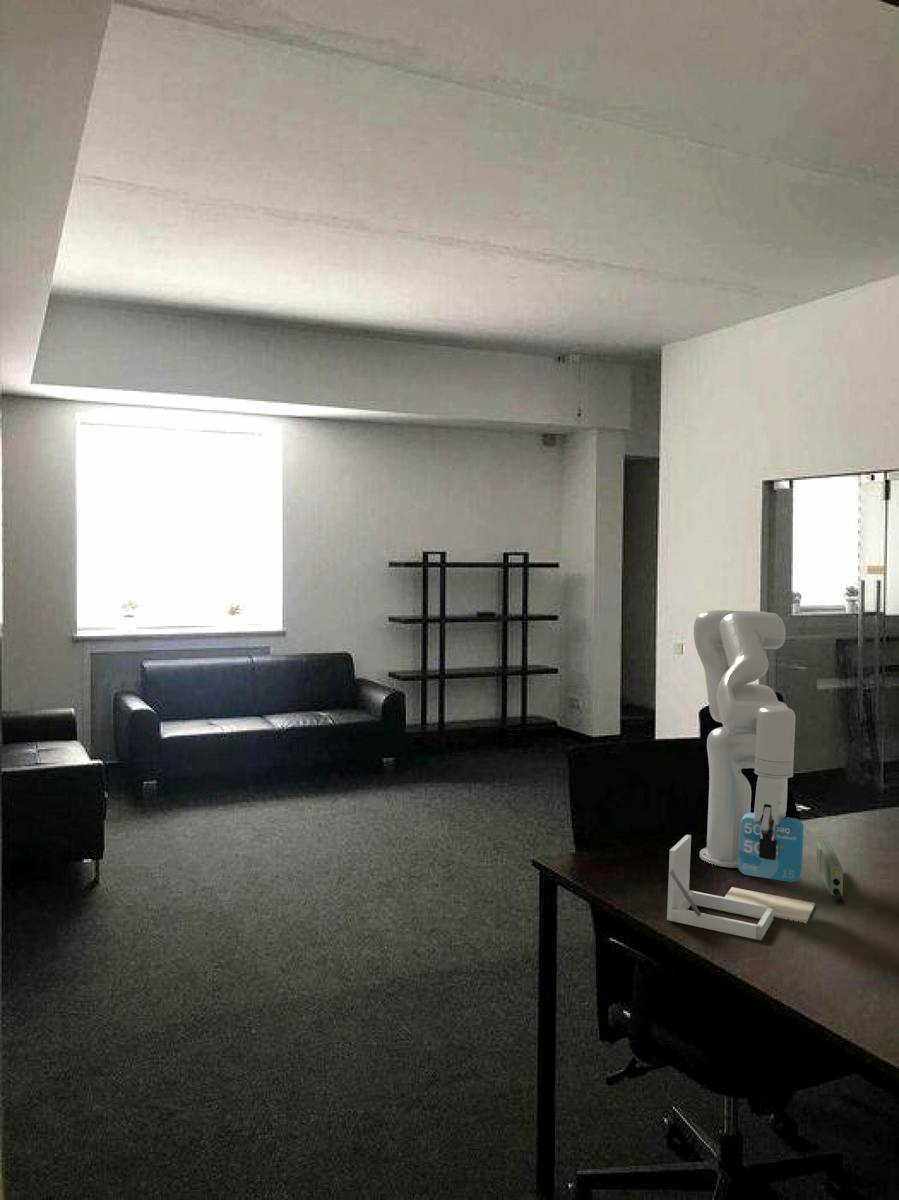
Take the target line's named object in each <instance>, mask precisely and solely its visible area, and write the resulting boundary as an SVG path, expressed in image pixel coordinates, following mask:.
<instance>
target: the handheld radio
mask: <svg viewBox="0 0 899 1200" xmlns="http://www.w3.org/2000/svg"><path fill="white" fill-rule="evenodd" d="M816 866H817V869H818V871H819V872H820V874H822V875H821V876H823V877H822V879H823V881H824V883H826V884H825V887H826V888H827V891H828V890H829V891H828V892H830V893H829V895H830V894H831V895H830V896H832V895H834V896H833V897H835V899H836V902H837V903H838V904H842V903H844V902H845V900H844V898H843V893H844V869H843V865H842V864H841V863H840V861H839V858H838V856H837V854H836V852H835V850H834V848H833V846H832V845H831V843H830V841H829V840H828V839H826V840H825V839H823V840H822V839H819V841H818V842H817V843H816Z"/></svg>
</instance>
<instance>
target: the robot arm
mask: <svg viewBox="0 0 899 1200" xmlns="http://www.w3.org/2000/svg"><path fill="white" fill-rule="evenodd" d="M786 631H787V630H786V626H785V624H784V621H783V619H782V618H781V616H779V615H778V614H777V613H776V612H768V611H767V612H766V611H756V610H755V611H754V610H753V611H752V610H728V609H727V610H725V609H723V610H722V609H720V610H719V609H717V610H708V611H704V612H702V613H699V614H698V615H697V616H696V618H695V620H694V624H693V639H694V645H695V648H696V652H697V654H698V656H699V659H700V661H701V663H702V666H703V669H704V674H705V675H704V676H705V684H706V692H707V701H708V708H709V713H710V717H711V718H712V719H713V720H714V721H715V722H718V723H721V724H722V726H720V727H716V728H714V729H712V730H711V731H710V732H709V734H708V736H707V739H706V749H707V758H708V759H707V760H708V768H709V769H708V770H709V773H708V775H709V777H708V778H709V780H708V783H709V785H708V786H709V787H708V788H709V789H708V806H707V807H708V809H707V828H706V829H707V833H706V847H704V848H702V849H700V851H699V858H700V859H701V860H702V861H704V862H705V861H706V862H705V863H707V862H708V864H710V863H711V864H710V865H713V864H714V866H717V867H721V868H722V867H724V868H730V869H739V868H738V860H739V835H740V822H741V820H742V818H743V816H744V815H745V814H746V813H751V809H752V808H751V807H752V806H751V803H752V786H751V784H750V782H749V780H748V778H747V777H746V775H744V773H742V769H754V770H753V773H754V774H755V775H757V779H756V780H757V781H756V789H755V796H754V797H755V800H754V810H753V811H754V812H753V813H754V822H755V823H758V822H760V820H761V819H762V823H761V833H760V846H759V857H760V858H764V859H770V860H775V859H776V844H777V840H775V834H776V826H778V825H779V824H780V821H781V820H782V819H783V818H784V817H786V814H787V813H786V812H787V805H788V804H787V803H788V782H789V781H788V779H790V778H793V777H794V763H795V762H794V761H795V760H794V758H795V739H796V738H795V737H796V735H795V734H796V714H795V711H794V710H793V709H792V708H789V707H788V705H787V704H786V703H785V702H783V701H780V700H779V699H778V697H777V694H776V692H775V690H773V688H771V686H768V685H765V684H756V683H755V684H751V683H752V682H753V683H754V682H755V681H757V680H760V679H761V678H762V677H763V676H764V675H766V673H767V672H768V670H769V667H770V665H769V664H770V663H769V662H770V661H769V659H768V656H767V654H766V650H778V649H779V648H781V647H782V646H784V643H785V640H786V636H787V635H786V633H787V632H786ZM761 817H762V818H761ZM770 821H771V822H774V823H773V824H774V825H772V824H770ZM770 827H771V828H772V831H771V829H769V828H770Z"/></svg>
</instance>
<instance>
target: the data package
mask: <svg viewBox="0 0 899 1200" xmlns="http://www.w3.org/2000/svg"><path fill="white" fill-rule="evenodd" d="M761 818H762V817H761ZM761 823H762V819H761V820H760V822H758V823H755V822H754V812H750V813H746V814H745V815H744V816H743V818H742V820H741V822H740V835H739V860H738V868H737V869H738V871H740V873H741V874H743V875H745V876H750V877H751V876H752V877H759V878H765V879H770V880H777V881H785V882H789V883H790V882H791V883H794V882H796V881H798V880H799V879H800V876H801V873H802V865H803V844H804V843H803V842H804V824H803V822H802V821H801V820H800V819H799V818H794V817H788V816H785V817H784V818H783V819H782V820H781V821H780V824H779V825H778V826H776V834H775V840H777V844H776V859H775V860H770V859H764V858H760V857H759V846H760V833H761ZM773 823H774V822H771V821H770V824H772V825H774V824H773ZM769 829H771V831H772V828H771V827H770V828H769Z"/></svg>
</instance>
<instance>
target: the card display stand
mask: <svg viewBox="0 0 899 1200" xmlns="http://www.w3.org/2000/svg"><path fill="white" fill-rule="evenodd" d="M691 843H692V835H691V834H686V835H684V836H683V837H682V838H681V839H680V840H679V841H678V842H677V843H676V844H675V845H673V846H672V847H671V848H670V849H669V854H668V855H669V858H668V859H669V860H668V882H667V883H668V885H667V908H666V920H667V921H670V922H675V923H679V924H683V925H688V926H693V927H698V928H703V929H707V930H711V931H714V932H715V931H717V932H720V933H724V934H730V935H734V936H739V937H743V938H748V939H752V940H758V941H762V939H763V938H764V937H765V935H766V932H767V931H768V929H769V928H770V926H771V924H772V922H773V921H774V907H771V906H766V905H761V904H756V903H751V902H746V901H741V900H736V899H731V898H726V897H725V896H721V895H716V894H710V893H706V892H705V893H704V892H701V891H695V890H690V876H691V875H690V874H691V873H690V870H691V852H692V851H691V846H692V844H691ZM697 906H698V907H703V908H708V909H713V910H717V911H723V912H727V913H731V914H737V915H741V916H746V917H751V918H756V919H759V921H758V923H757V924H756V923H752V922H748V921H742V920H738V919H732V918H727V917H724V916H719V915H713V914H708V913H704V912H701V911H700V909H698V907H697ZM690 907H691V908H692V910H689V909H690Z"/></svg>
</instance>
